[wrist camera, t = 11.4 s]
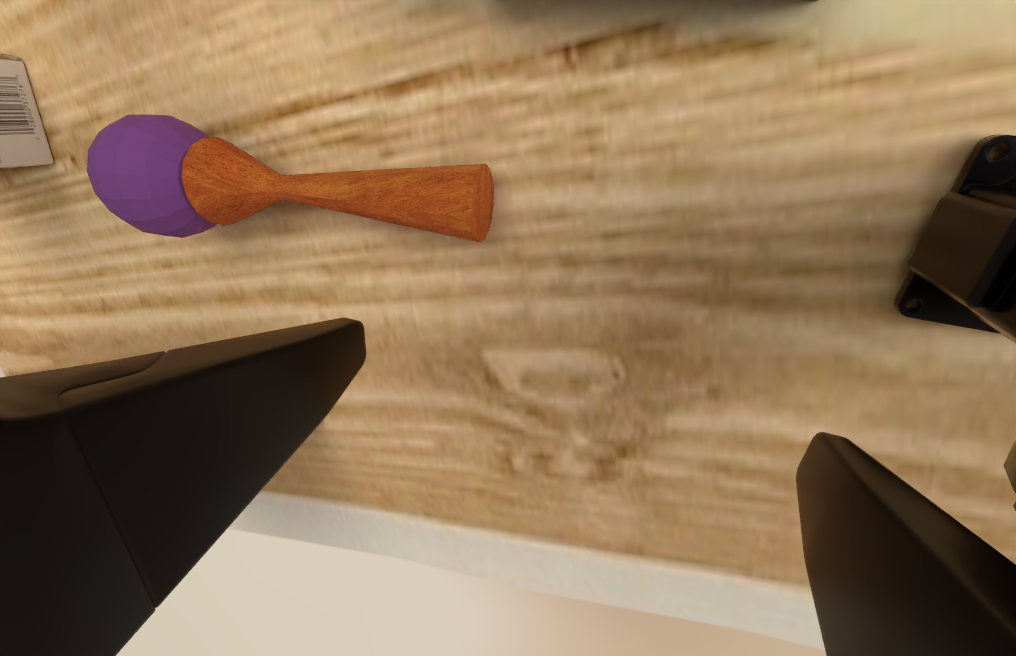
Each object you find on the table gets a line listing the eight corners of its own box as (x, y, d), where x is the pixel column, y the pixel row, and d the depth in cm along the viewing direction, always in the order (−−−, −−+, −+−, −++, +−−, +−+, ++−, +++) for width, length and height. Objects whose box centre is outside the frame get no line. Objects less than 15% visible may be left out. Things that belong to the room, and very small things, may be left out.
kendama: (466, 296, 19) (99, 250, 23) (501, 237, 24) (190, 207, 28) (455, 153, 16) (23, 127, 20) (499, 116, 20) (141, 101, 24)
